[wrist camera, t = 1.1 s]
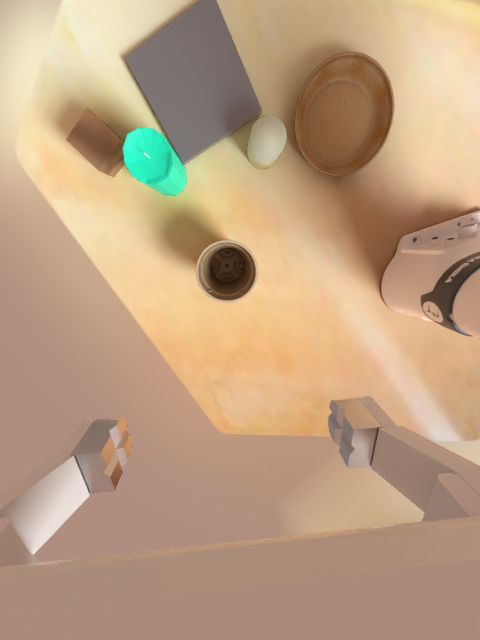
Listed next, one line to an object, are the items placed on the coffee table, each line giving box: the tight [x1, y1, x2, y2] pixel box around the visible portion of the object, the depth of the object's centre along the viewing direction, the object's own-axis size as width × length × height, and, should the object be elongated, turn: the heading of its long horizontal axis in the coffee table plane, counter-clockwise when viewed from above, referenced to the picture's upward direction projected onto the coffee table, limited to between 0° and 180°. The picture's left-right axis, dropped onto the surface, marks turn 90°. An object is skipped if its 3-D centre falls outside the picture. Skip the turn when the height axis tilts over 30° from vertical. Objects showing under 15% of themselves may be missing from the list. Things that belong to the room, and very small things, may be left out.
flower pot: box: [196, 240, 258, 302], centre depth 40 cm, size 9×9×9 cm
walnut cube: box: [66, 108, 125, 177], centre depth 35 cm, size 5×5×5 cm
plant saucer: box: [295, 52, 394, 176], centre depth 36 cm, size 15×15×3 cm
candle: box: [123, 128, 187, 196], centre depth 33 cm, size 6×6×12 cm
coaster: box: [125, 0, 262, 165], centre depth 34 cm, size 14×14×1 cm
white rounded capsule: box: [247, 115, 287, 169], centre depth 35 cm, size 5×5×6 cm
